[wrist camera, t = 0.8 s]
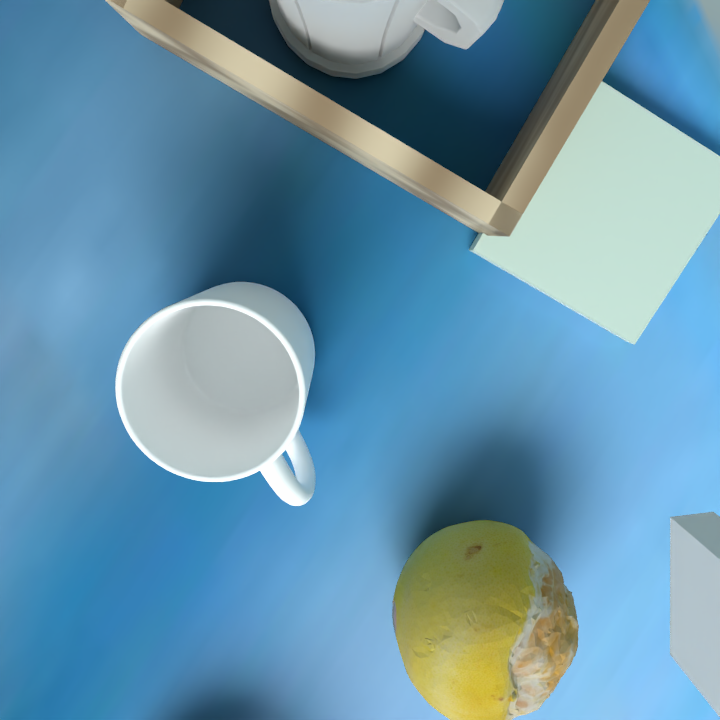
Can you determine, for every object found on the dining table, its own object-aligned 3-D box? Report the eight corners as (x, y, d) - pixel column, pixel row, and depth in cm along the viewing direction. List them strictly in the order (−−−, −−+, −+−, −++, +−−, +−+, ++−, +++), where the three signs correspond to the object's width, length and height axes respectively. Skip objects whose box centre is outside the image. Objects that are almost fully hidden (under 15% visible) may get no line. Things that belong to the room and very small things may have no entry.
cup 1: (268, 253, 37) (239, 261, 27) (373, 425, 39) (382, 492, 29) (148, 326, 37) (76, 360, 27) (257, 490, 40) (228, 578, 30)
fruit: (411, 663, 42) (431, 794, 32) (368, 517, 40) (375, 610, 30) (561, 623, 42) (627, 743, 32) (525, 475, 40) (585, 555, 30)
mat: (468, 249, 37) (472, 250, 36) (572, 72, 35) (580, 67, 34) (625, 341, 38) (634, 344, 37) (733, 174, 36) (746, 173, 35)
